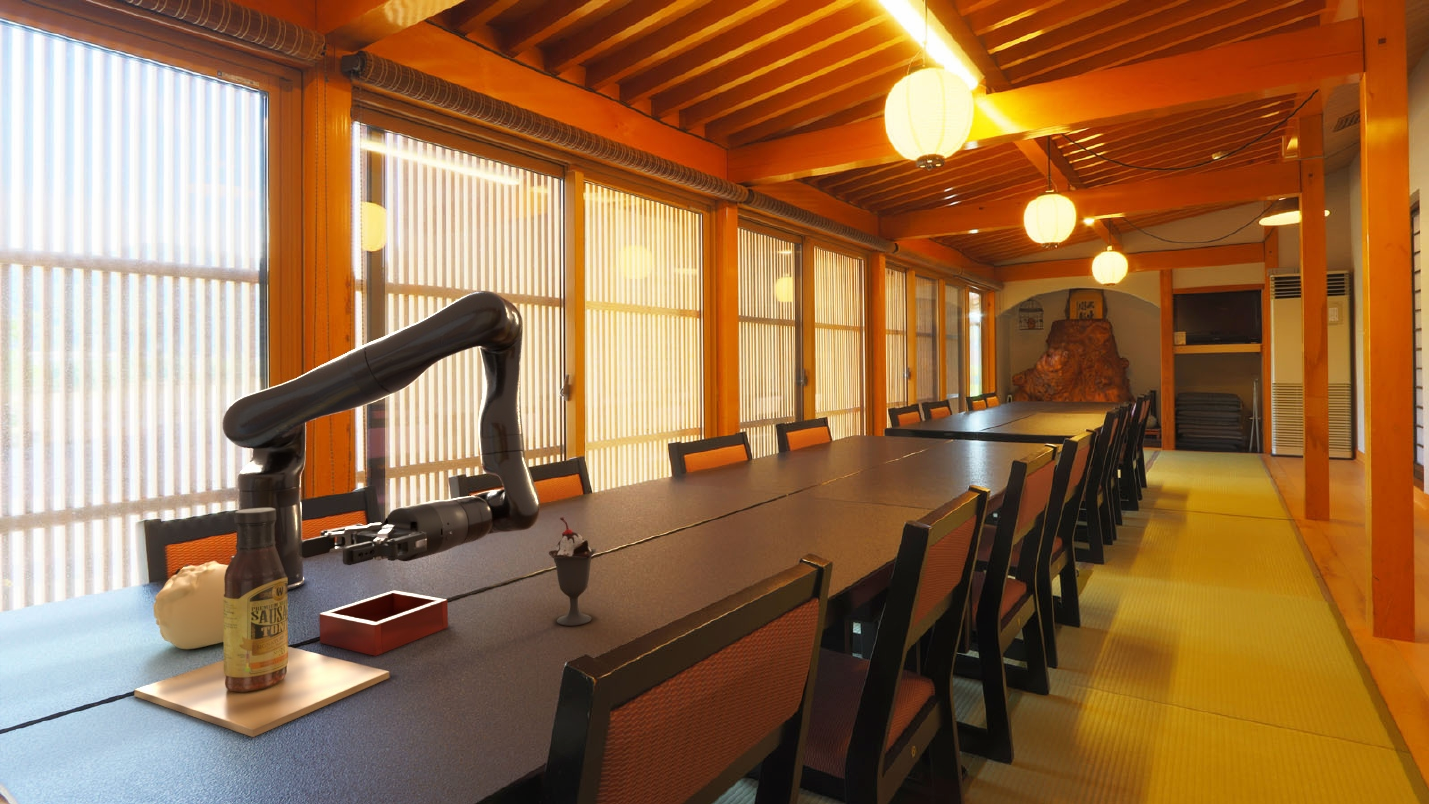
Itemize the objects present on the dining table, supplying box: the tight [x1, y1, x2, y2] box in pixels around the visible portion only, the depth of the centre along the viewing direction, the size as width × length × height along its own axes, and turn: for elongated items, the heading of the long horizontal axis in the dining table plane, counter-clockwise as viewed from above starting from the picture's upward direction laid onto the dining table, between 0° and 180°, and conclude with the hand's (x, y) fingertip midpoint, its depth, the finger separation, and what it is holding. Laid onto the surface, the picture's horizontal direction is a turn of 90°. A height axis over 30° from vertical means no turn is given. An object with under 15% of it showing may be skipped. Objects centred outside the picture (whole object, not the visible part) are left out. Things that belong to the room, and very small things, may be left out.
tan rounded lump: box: [152, 560, 229, 650], centre depth 100 cm, size 11×12×11 cm
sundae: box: [548, 516, 597, 627], centre depth 107 cm, size 7×7×15 cm
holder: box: [318, 590, 449, 657], centre depth 102 cm, size 11×12×4 cm
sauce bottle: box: [223, 508, 289, 692], centre depth 84 cm, size 6×6×20 cm
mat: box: [133, 646, 390, 738], centre depth 85 cm, size 22×16×1 cm
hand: (322, 553), depth 91 cm, fingers open, 8 cm apart
